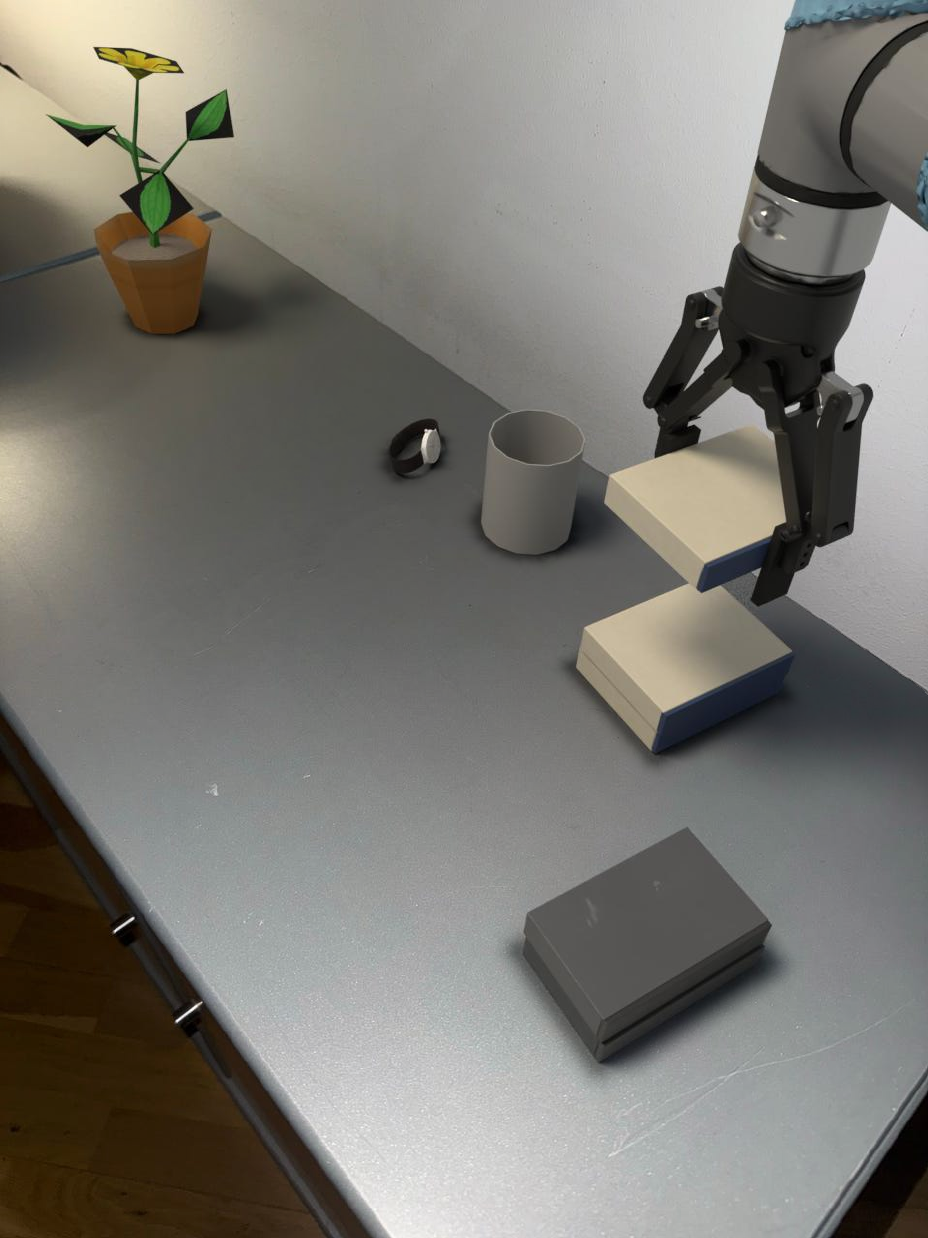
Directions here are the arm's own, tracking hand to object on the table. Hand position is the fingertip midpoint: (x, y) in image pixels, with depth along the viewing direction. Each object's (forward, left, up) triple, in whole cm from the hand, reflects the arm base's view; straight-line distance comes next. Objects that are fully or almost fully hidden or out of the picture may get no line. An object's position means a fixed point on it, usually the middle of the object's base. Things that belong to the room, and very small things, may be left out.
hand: (714, 549), depth 77 cm
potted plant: (+73, +15, -16) cm, 76 cm away
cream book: (0, 0, +3) cm, 3 cm away
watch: (+37, +3, -16) cm, 40 cm away
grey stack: (-17, +17, -16) cm, 28 cm away
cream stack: (+1, -1, -16) cm, 16 cm away
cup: (+23, -1, -16) cm, 28 cm away
